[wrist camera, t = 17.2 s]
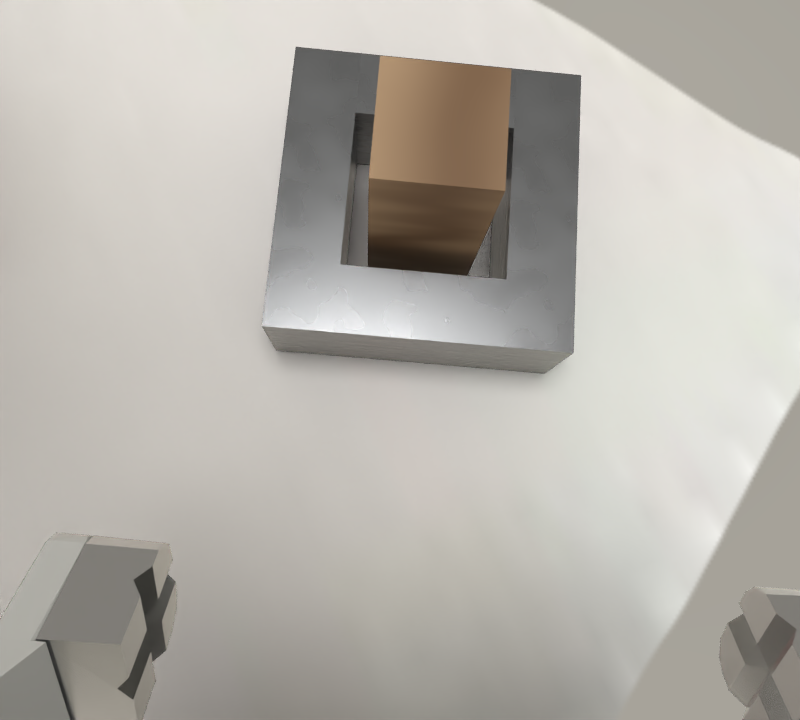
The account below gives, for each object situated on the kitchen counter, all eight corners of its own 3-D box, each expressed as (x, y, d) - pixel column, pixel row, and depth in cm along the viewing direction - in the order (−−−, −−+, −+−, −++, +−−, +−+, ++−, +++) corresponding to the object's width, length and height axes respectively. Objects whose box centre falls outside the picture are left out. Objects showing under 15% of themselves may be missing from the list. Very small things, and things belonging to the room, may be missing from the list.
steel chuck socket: (276, 350, 28) (261, 325, 24) (304, 105, 30) (295, 47, 26) (544, 373, 28) (573, 352, 24) (553, 129, 31) (581, 75, 27)
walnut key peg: (367, 276, 29) (368, 178, 20) (375, 187, 30) (380, 55, 21) (462, 285, 29) (505, 190, 20) (468, 196, 30) (511, 68, 21)
